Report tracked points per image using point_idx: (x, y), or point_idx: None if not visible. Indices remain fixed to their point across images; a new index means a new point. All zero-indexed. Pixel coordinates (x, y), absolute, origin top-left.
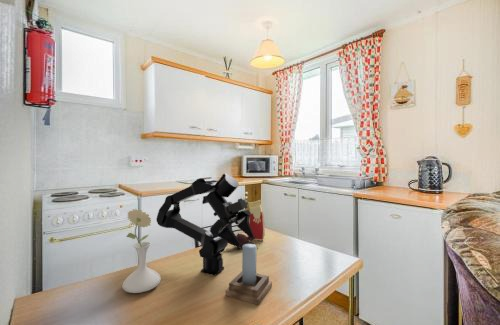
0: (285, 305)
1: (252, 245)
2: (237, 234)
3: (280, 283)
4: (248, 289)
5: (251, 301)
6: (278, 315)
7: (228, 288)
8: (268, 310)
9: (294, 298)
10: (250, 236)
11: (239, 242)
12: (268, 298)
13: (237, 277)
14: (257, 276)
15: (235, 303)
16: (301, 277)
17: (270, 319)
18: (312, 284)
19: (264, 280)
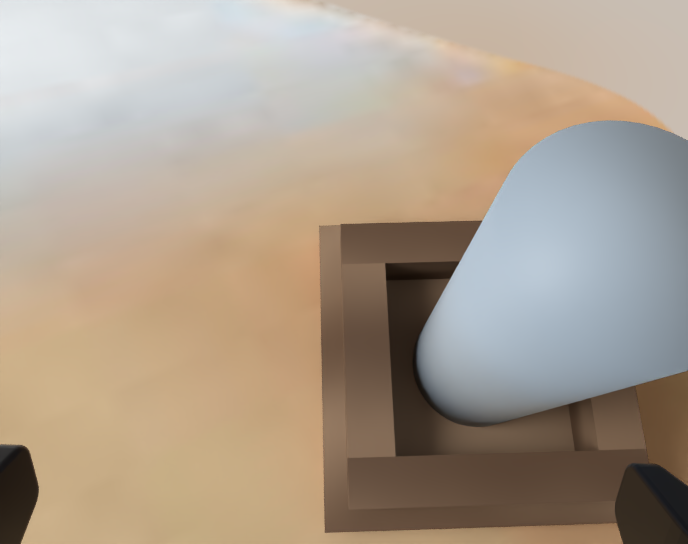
0: (490, 93)
1: (561, 207)
2: None
3: (252, 197)
4: None
5: None
6: (600, 99)
7: (613, 513)
8: None
9: (391, 67)
10: (17, 526)
11: (665, 488)
12: (480, 205)
13: (516, 480)
14: (386, 316)
15: (666, 385)
16: (99, 91)
17: (658, 124)
18: (171, 11)
19: (431, 227)
